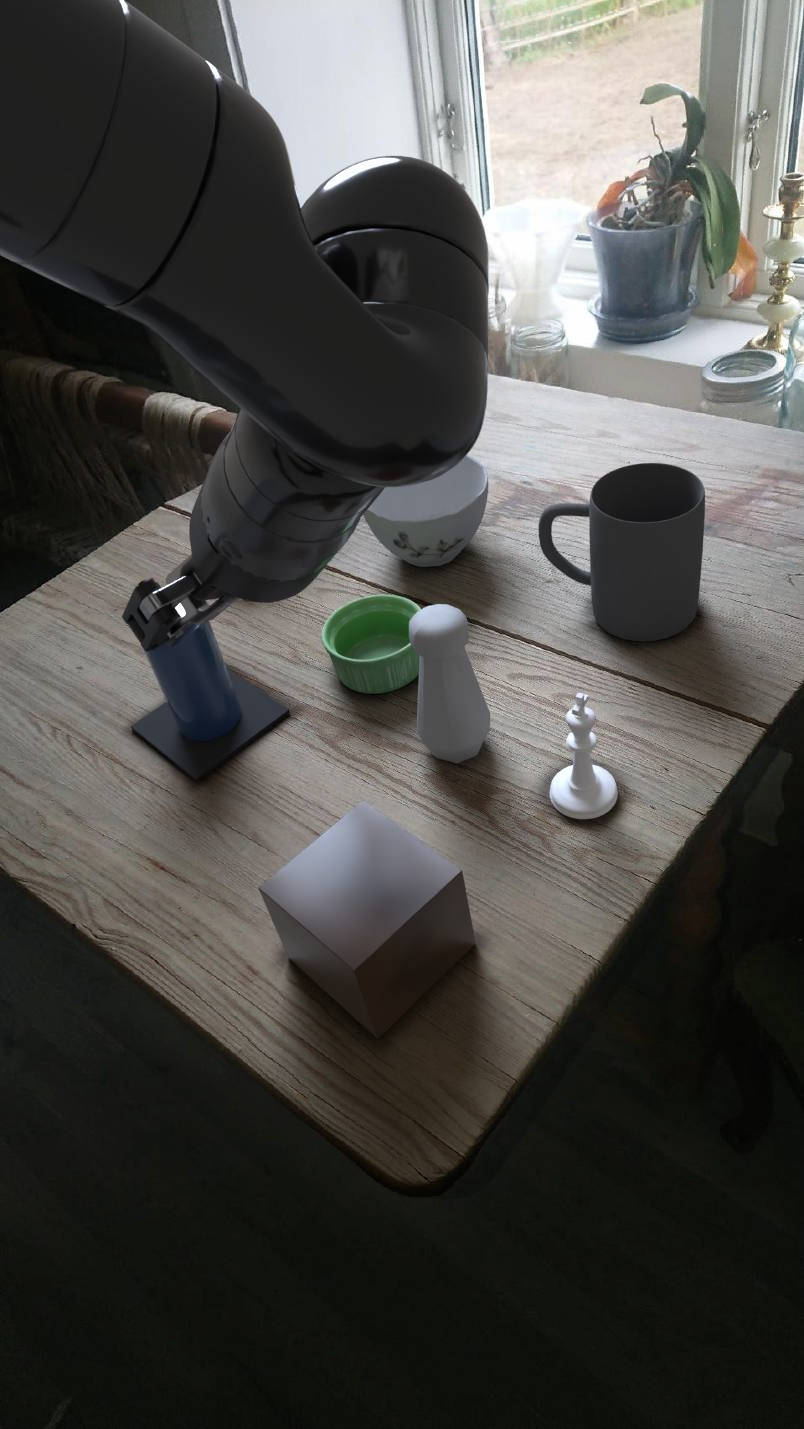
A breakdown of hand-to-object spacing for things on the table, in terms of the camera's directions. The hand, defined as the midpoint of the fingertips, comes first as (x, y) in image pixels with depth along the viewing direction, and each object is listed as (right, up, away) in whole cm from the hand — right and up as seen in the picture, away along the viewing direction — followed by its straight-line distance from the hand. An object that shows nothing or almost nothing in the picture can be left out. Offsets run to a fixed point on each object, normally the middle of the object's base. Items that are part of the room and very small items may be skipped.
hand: (220, 599), depth 64 cm
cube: (+10, -23, +1) cm, 26 cm away
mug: (+31, +2, +23) cm, 39 cm away
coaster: (-5, -8, +20) cm, 22 cm away
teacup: (+15, +10, +34) cm, 39 cm away
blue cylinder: (-5, -8, +20) cm, 22 cm away
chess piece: (+25, -13, +8) cm, 30 cm away
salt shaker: (+16, -10, +14) cm, 24 cm away
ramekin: (+10, -3, +22) cm, 25 cm away
